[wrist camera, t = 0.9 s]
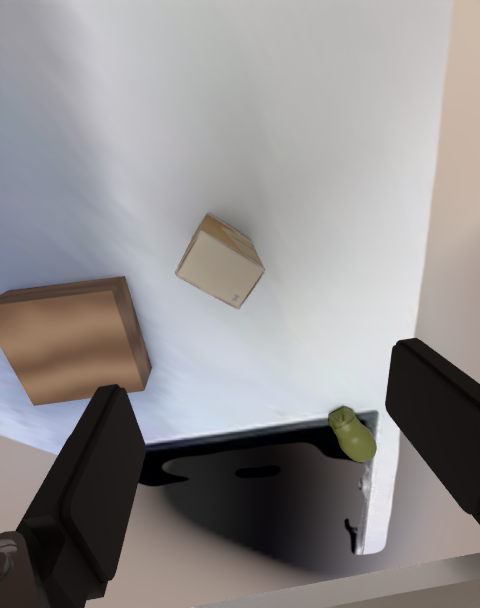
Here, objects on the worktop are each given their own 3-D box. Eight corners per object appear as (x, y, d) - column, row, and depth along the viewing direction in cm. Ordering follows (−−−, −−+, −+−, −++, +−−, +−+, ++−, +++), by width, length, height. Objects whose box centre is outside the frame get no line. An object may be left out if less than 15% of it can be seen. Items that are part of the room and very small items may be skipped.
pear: (357, 474, 45) (326, 433, 43) (346, 448, 50) (318, 410, 48) (388, 459, 44) (358, 416, 42) (373, 434, 49) (346, 395, 47)
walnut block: (10, 289, 34) (-22, 307, 29) (125, 275, 34) (111, 290, 30) (54, 379, 40) (33, 405, 35) (152, 366, 40) (144, 390, 35)
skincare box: (251, 239, 33) (270, 271, 22) (232, 269, 35) (241, 313, 23) (205, 209, 31) (200, 227, 20) (186, 242, 33) (172, 276, 22)
